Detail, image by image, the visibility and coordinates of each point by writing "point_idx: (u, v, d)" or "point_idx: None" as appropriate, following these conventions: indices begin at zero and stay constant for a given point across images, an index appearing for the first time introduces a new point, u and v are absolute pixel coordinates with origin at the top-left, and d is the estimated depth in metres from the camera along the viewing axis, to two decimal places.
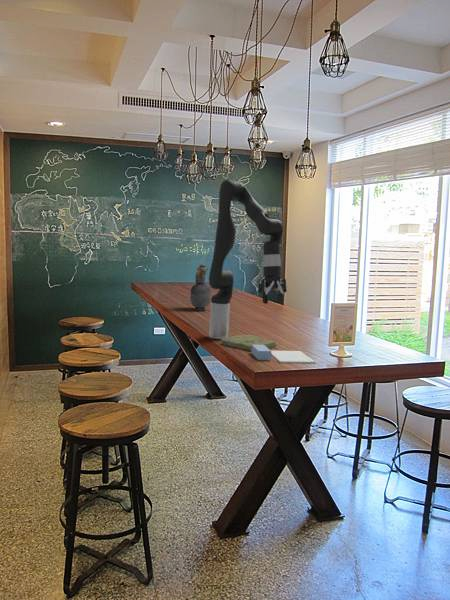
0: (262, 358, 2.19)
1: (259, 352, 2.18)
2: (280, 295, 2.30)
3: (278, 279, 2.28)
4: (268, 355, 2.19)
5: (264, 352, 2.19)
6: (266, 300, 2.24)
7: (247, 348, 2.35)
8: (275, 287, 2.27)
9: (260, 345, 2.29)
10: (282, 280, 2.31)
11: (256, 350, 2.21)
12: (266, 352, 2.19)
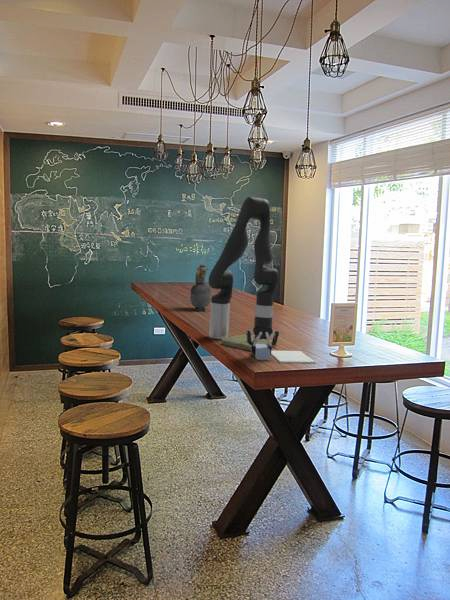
0: (261, 357, 2.19)
1: (258, 351, 2.18)
2: (268, 347, 2.24)
3: (269, 329, 2.23)
4: (267, 354, 2.19)
5: (263, 351, 2.19)
6: (253, 351, 2.23)
7: (247, 348, 2.35)
8: (263, 337, 2.23)
9: (261, 344, 2.29)
10: (275, 332, 2.24)
11: (256, 349, 2.22)
12: (265, 351, 2.19)
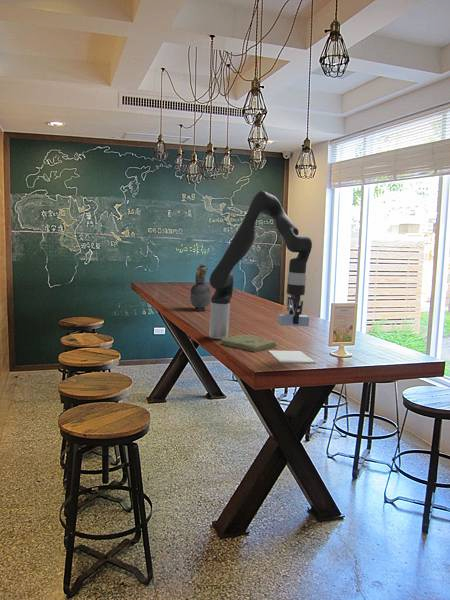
0: (279, 321, 2.25)
1: None
2: None
3: (294, 298, 2.20)
4: (280, 319, 2.22)
5: (279, 316, 2.24)
6: None
7: (247, 348, 2.35)
8: (292, 305, 2.23)
9: (305, 316, 2.23)
10: None
11: (286, 315, 2.26)
12: (280, 316, 2.23)
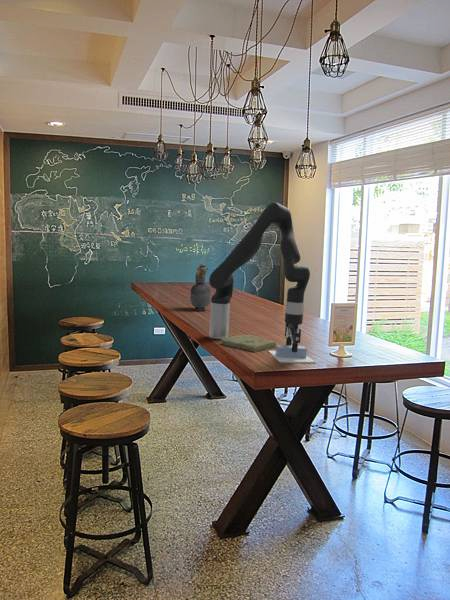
0: (276, 352, 2.26)
1: (276, 346, 2.27)
2: None
3: (292, 327, 2.22)
4: (278, 351, 2.24)
5: (277, 347, 2.25)
6: (286, 344, 2.30)
7: (247, 348, 2.35)
8: None
9: (302, 347, 2.25)
10: None
11: None
12: (278, 348, 2.24)
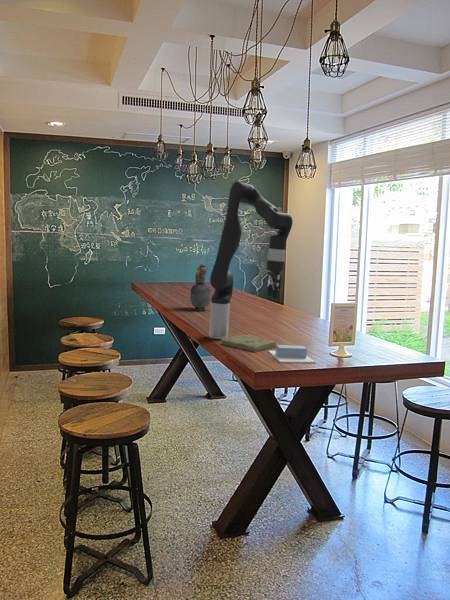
0: (276, 352, 2.26)
1: (276, 346, 2.27)
2: None
3: (273, 274, 2.24)
4: (278, 351, 2.24)
5: (277, 347, 2.25)
6: None
7: (247, 348, 2.35)
8: None
9: (302, 347, 2.25)
10: None
11: None
12: (278, 348, 2.24)
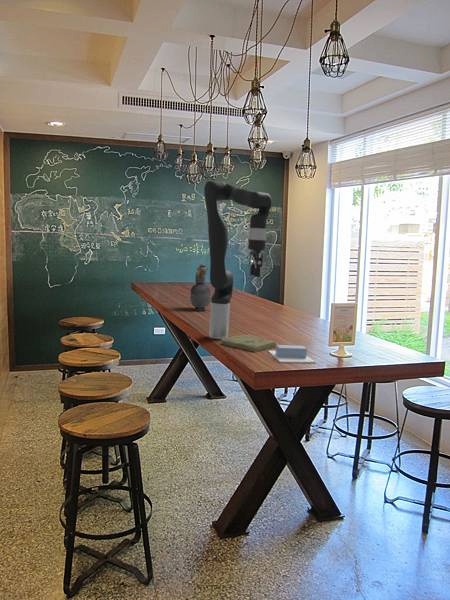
0: (276, 352, 2.26)
1: (276, 346, 2.27)
2: None
3: (255, 253, 2.28)
4: (278, 351, 2.24)
5: (277, 347, 2.25)
6: None
7: (247, 348, 2.35)
8: None
9: (302, 347, 2.25)
10: None
11: None
12: (278, 348, 2.24)
